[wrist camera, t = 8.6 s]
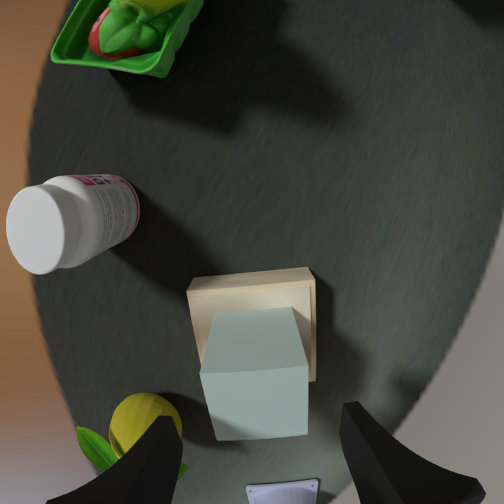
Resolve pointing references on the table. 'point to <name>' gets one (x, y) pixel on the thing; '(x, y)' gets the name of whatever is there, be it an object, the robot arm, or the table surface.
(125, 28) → the fruit basket
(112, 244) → the pill bottle
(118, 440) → the lemon
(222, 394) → the teal block
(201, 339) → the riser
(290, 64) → the table surface
